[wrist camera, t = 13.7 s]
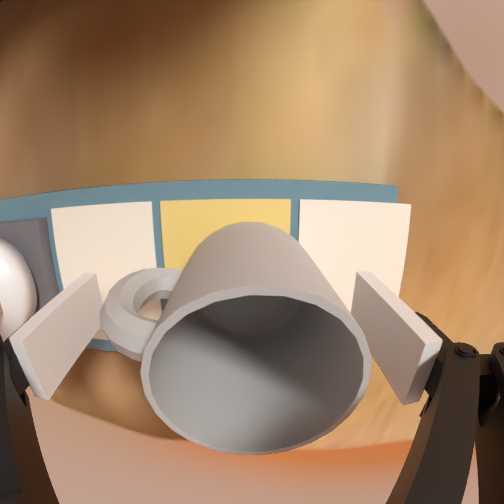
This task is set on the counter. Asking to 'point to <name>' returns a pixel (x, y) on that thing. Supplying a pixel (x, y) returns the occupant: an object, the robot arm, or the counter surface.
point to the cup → (242, 343)
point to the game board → (202, 230)
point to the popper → (15, 290)
